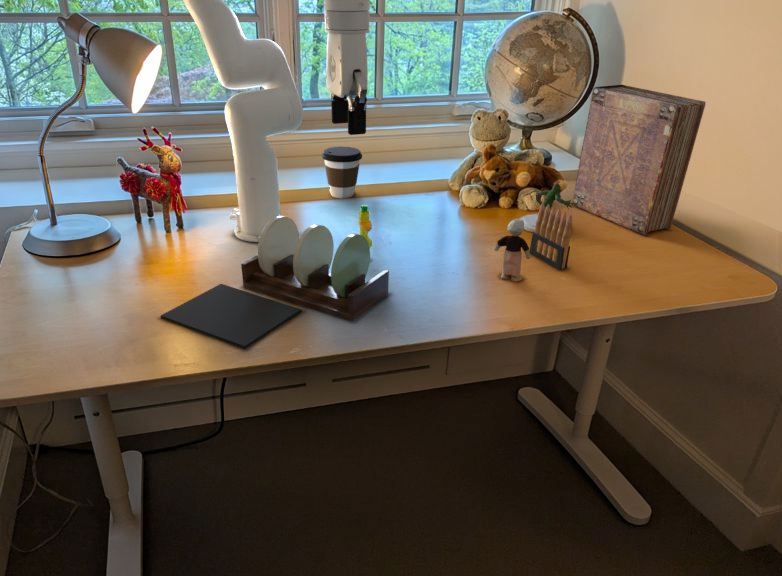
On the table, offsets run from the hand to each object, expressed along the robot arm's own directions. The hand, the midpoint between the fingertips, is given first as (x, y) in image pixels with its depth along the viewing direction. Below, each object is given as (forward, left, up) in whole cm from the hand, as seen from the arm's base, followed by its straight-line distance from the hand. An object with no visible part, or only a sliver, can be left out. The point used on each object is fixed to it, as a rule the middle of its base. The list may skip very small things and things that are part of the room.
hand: (348, 128), depth 117 cm
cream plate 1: (-10, -9, -22) cm, 26 cm away
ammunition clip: (+32, +31, -30) cm, 54 cm away
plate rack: (-2, -9, -30) cm, 31 cm away
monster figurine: (+24, +52, -30) cm, 65 cm away
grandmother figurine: (+28, +18, -30) cm, 45 cm away
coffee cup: (-31, +44, -30) cm, 62 cm away
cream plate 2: (-2, -9, -22) cm, 24 cm away
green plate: (+7, -9, -22) cm, 25 cm away
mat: (-9, -26, -30) cm, 40 cm away
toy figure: (-2, +9, -30) cm, 31 cm away
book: (+39, +69, -30) cm, 85 cm away
